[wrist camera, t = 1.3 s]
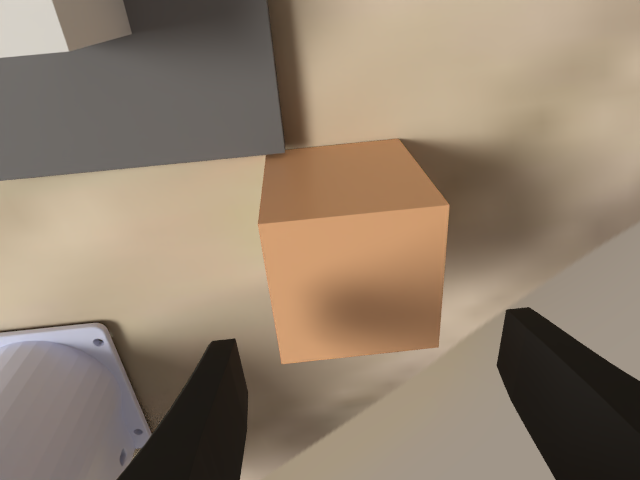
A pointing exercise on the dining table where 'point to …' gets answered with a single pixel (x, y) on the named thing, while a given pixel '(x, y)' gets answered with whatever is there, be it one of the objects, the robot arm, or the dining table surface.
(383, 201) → the peach tan brick
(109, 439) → the robot arm
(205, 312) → the dining table surface
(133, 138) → the post board
